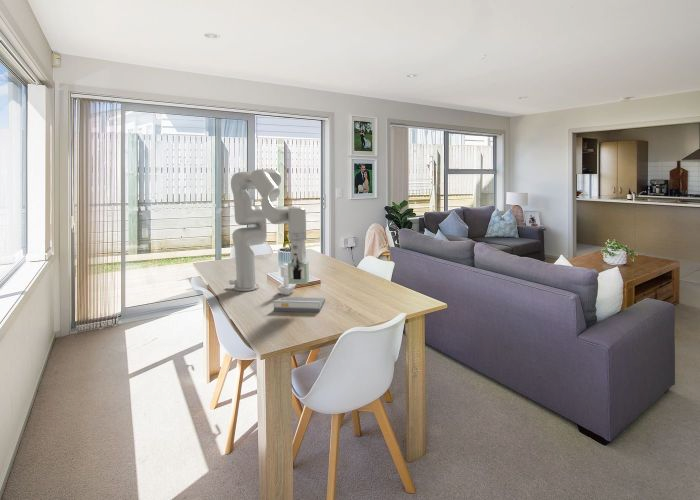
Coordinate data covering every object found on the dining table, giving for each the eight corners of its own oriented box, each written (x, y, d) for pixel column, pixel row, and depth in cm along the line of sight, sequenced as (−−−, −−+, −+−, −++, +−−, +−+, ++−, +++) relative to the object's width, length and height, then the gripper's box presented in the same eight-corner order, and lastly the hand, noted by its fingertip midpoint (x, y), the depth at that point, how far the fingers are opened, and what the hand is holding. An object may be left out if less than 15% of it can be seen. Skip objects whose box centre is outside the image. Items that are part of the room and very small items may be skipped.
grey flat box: (273, 311, 180) (273, 301, 179) (282, 300, 196) (282, 290, 195) (319, 312, 178) (319, 302, 177) (324, 301, 194) (324, 291, 193)
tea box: (308, 281, 184) (308, 261, 183) (306, 284, 179) (306, 263, 178) (291, 281, 185) (290, 261, 183) (288, 283, 180) (287, 263, 178)
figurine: (296, 291, 211) (296, 262, 209) (290, 296, 202) (289, 266, 200) (283, 290, 213) (282, 261, 210) (276, 295, 204) (275, 265, 201)
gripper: (302, 239, 170) (303, 282, 173) (309, 233, 187) (310, 273, 190) (284, 239, 171) (285, 282, 174) (293, 233, 187) (294, 273, 190)
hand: (298, 277), depth 182 cm, fingers closed on tea box, 5 cm apart
